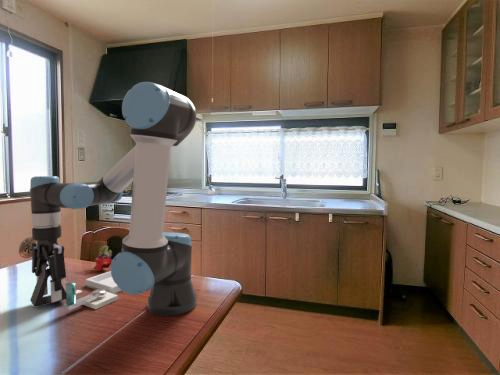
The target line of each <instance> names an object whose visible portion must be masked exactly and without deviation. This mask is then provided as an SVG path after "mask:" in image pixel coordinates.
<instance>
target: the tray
mask: <svg viewBox="0 0 500 375" xmlns="http://www.w3.org/2000/svg"><path fill="white" fill-rule="evenodd" d="M85 287H88V288H90V289H94V290H97V289H105V290H106V292H109V293H112V294H115V295H117V294H119V293H122V292H123V291H122V290H121V289H120V288H119V287H118V286H117V284H116V283H115V282H114V280H113V278H112V275H111V270H110V271H106V272H104V273H100V274H98V275H95V276H91V277H88V278H86V279H85Z"/></svg>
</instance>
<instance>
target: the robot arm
mask: <svg viewBox="0 0 500 375" xmlns="http://www.w3.org/2000/svg"><path fill="white" fill-rule="evenodd" d="M126 92H127V93H126V94H125V95H124V97H123V100H122V104H121V114H122V116H123V119H125V123H126V124H127V125H129V126H130V133H129V134H130V137H131V138H132V139H133V141H134V142H135V145H134V147H132V149H130V150H129V151H128V152H127V153H126V154H125V155H124V156H123V157H122V158H120V160H119V161H118V162H116V163H115V165H113V167H112V168H111V169H110V170H108V172H106V174H104V175H103V176H102V177H101V178H100V179H99V180H97V181H91V182H61V181H60V178H59V176H56V175H55V176H54V175H52V176H51V175H46V176H43V175H39V176H36V175H35V176H33V177H31V178H30V188H29V193H30V194H29V196H30V208H31V209H30V212H31V213H30V215H31V217H30V218H31V221H30V222H31V226H32V228H31V234H32V237H31V239H32V240H33V241H36V242H32V243H31V250H32V253H31V254H32V257H31V273H32V274H34V275H35V276H36V281H37V280H38V278H39V275H40V272H41V264H42V262H44V261H45V262H46V263H47V264H48V265H49V266H48V269H49V268H50V272H51V276H52V278H51V280H49V282H50V295H51V303H52V302H53V303H56V302H55V301H57V302H59V301H58V300H61V299H62V290H61V284H62V280H63V279H66V277H67V271H66V262H65V261H66V260H65V254H64V253H65V246H64V245H61V246H59V243H58V239H59V238H61V237H62V226H61V225H60V224H61V223H62V220H61V217H62V214H61V209H70V210H71V209H72V210H82V209H83V210H84V209H86V208H88V207H89V206H90V207H92V206H98V205H106V204H107V205H110V204H113V203H116V202H119V201H120V200H121V199H122V197H123V195H124V190H125V189H126V188H128V187H129V185H131V184H132V193H131V195H132V196H131V204H130V205H131V207H130V208H131V209H130V217H129V218H130V220H129V221H130V222H129V233H128V235H127V234H126V236H125V237H124V238H122V245H121V252H118V253H117V254H116V255H115V256H114V257H113V259H112V262H111V264H110V267H111V268H110V271H111V275H112V278H113V280H114V282H115V283H116V284H117V286H118V287H119V288H120V289H121V290H122V291H121V292H124V293H125V294H129V295H131V296H132V295H133V296H135V295H136V296H137V295H140V294H143V293H145V292H148V291H149V296H148V297H147V298H148V299H147V303H146V304H147V306H146V307H147V311H149V313H151V314H153V315H156V316H160V317H161V316H162V317H173V316H179V315H183V314H186V313H188V312H190V311H192V310H193V309H194V308H196V306H197V302H198V301H197V294H196V291H195V288H194V285H193V282H192V247H193V245H192V237H191V236H190V235H189V234H188V233H182V232H164V228H165V225H164V224H165V216H166V215H165V214H166V203H167V195H168V194H167V193H168V191H167V190H168V182H169V181H168V180H169V169H170V157H171V148H172V147H177V146H179V145H180V144H182V142H183V141H185V139H186V138H187V137H188V136H189V135H190V134H191V132H192V131H193V129H194V127H195V125H196V123H197V111H196V107H195V105H194V104H193V102H192V101H191V100H190V99H189V98H188V97H187V96H185V95H183V94H182V93H178V92H176V91H173V90H172V89H170V88H167V87H165V86H164V85H162V84H158V83H154V82H152V81H151V82H150V81H143V82H138V83H136V84H135V85H133V86H132V87H131V88H130V89H129V90H128V91H126ZM51 276H50V277H51ZM48 289H49V288H48V283H47V284H46V288H45V292H44V296H48V295H49V293H48V292H49V291H48ZM61 301H62V300H61Z"/></svg>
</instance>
